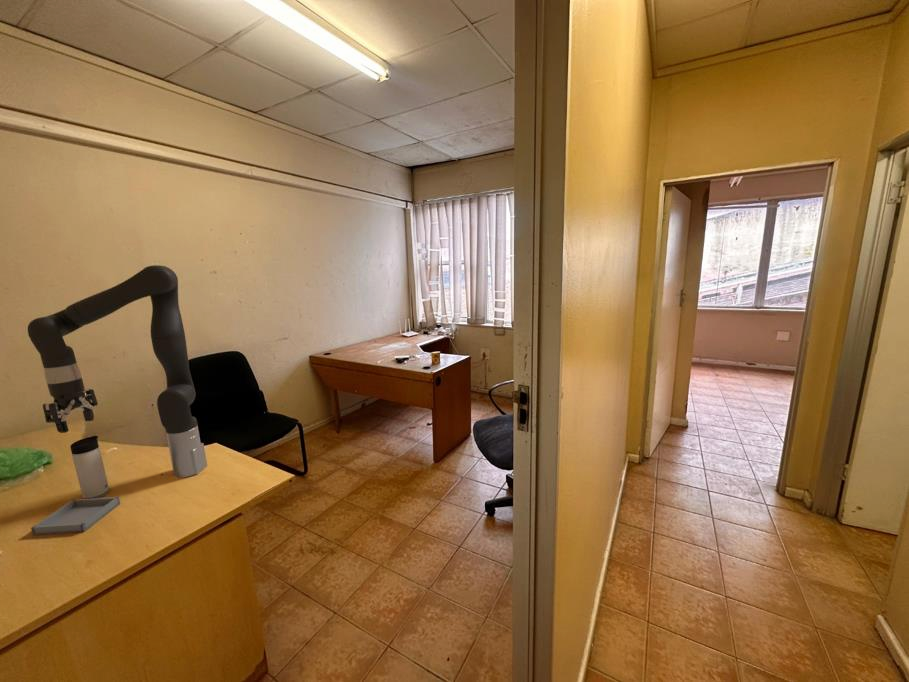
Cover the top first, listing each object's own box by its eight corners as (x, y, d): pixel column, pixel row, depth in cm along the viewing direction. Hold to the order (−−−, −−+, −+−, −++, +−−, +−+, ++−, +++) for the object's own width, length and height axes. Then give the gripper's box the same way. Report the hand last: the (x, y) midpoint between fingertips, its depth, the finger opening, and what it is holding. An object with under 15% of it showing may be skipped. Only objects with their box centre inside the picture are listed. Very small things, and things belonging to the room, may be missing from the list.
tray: (120, 503, 113) (118, 496, 113) (84, 532, 101) (82, 524, 101) (75, 506, 112) (73, 499, 112) (33, 535, 100) (30, 527, 100)
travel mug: (115, 490, 120) (102, 436, 116) (90, 502, 114) (76, 446, 110) (103, 487, 122) (91, 434, 118) (78, 498, 116) (64, 443, 112)
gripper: (53, 385, 104) (67, 435, 108) (97, 371, 118) (109, 416, 122) (26, 387, 104) (41, 437, 107) (73, 372, 118) (86, 417, 121)
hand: (77, 426), depth 114 cm, fingers open, 8 cm apart
